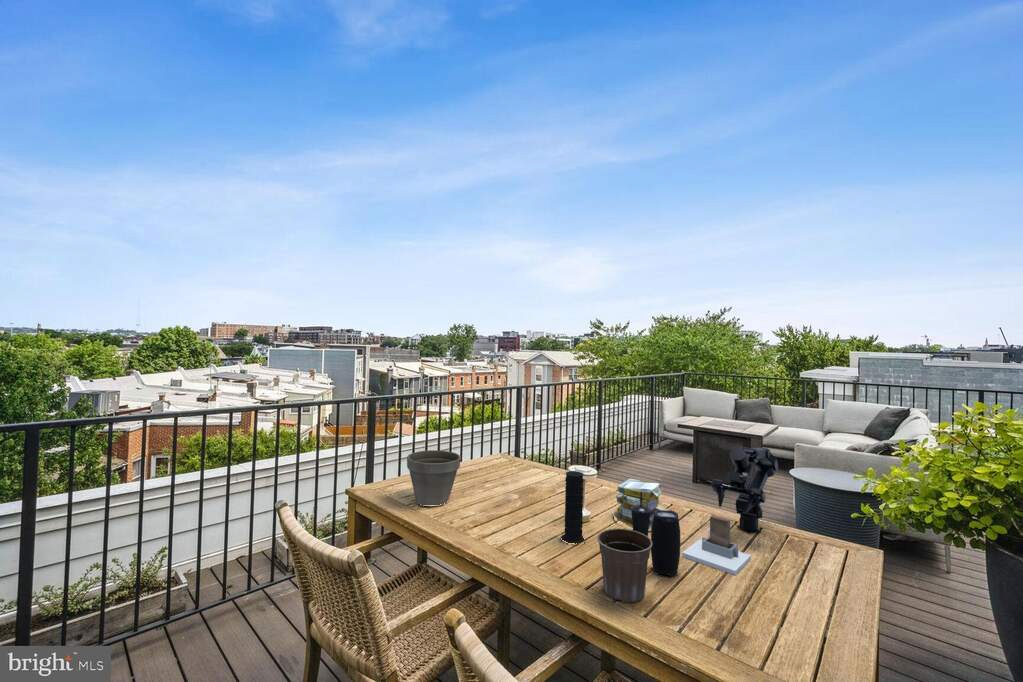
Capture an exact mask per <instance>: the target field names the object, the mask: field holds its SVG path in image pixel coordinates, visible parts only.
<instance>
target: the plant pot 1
mask: <svg viewBox="0 0 1023 682" xmlns="http://www.w3.org/2000/svg"><path fill="white" fill-rule="evenodd" d="M461 459H462V457H461V455H460V454H459V453H456V452H452V451H449V450H437V449H435V450H433V449H432V450H419V451H416V452H415V451H414V452H412V453H410V454H408V455H407V457H406V467H407V469H408V471H409V475H410V480H411V485H412V488H413V494H414V497H415V502H416V501H417V502H416V504H417V503H419V504H421V505H440V504H444V503H446V502H447V501H448V502H449V501H450V497H451V493H452V490H453V487H454V484H455V480H456V476H457V472H458V470H459V469H460V467H461ZM448 502H447V503H448ZM447 503H446V504H447Z"/></svg>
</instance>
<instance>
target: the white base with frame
mask: <svg viewBox="0 0 1023 682" xmlns="http://www.w3.org/2000/svg"><path fill="white" fill-rule="evenodd" d="M738 546H739V545H738V544H737V543H734V542H731V541H730V549H728V548H725V547H722V546H719V545H715V544H712V543H710V535H708V536H707V537H701V539H698V540H696V542H694V543H693V544H692V545H690V546H689V547H688V548H686V549H684V551H682V552H681V557H682V558H685V559H688V560H690V561H693V562H697V563H699V564H702V565H704V566H708V567H710V568H713V569H716V570H719V571H722V572H725V573H728V574H731V575H733V576H736V575H738V574H739V573H740V571H742V570H743V569H744V567H746V565H748V563H749V562H751V560H752V555H751V554H748V553H746V552H742V551H739V547H738Z"/></svg>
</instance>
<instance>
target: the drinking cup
mask: <svg viewBox="0 0 1023 682" xmlns="http://www.w3.org/2000/svg"><path fill="white" fill-rule="evenodd" d="M651 511H652V510H651V508H649V507H647V506H645V505H642V492H640V504H638V505H633V506H631V513H632V527H633V531H637V532H640V533H642V534H644V535H646V536H647V537H649V532H650V531H649V522H650V513H651Z"/></svg>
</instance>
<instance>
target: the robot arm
mask: <svg viewBox="0 0 1023 682" xmlns="http://www.w3.org/2000/svg"><path fill="white" fill-rule="evenodd" d="M729 456H730V459H731V461H732V464H733V465H734V467H735V470H734V471H728V473H727V478H726V480H727V481H728V483H729V484H728V485H727V484H725V483H724V480H720V479H716V478H713V479H712V480H711V482H710V485H711V487H712V490H713V491H714V492H716V494H717V499H718V507H719V508H721V507H722V506H723V501H724V498H725V492H726V491H729V492H734V493H737V494H739V495H738V497H737V498H736V499H735V509H736V510H735V511H736V514H739V525H737V528H738V529H740V530H741V531H744V532H746V533H747V534H752V533H761V532H762V529H759V519H763V508H762V506H761V504H762V503H763V504H765V502H766V494H765V491H764V487H765V485H766V483H767V480H768V479H769V478H771V477H773V476H774V475H776V472H778V470H779V464H778V463H779V462H778V460H777V458H776V457H777V456H776V457H775V455H774V454H772V453H771V450H770V449H769V448H767V447H761V446H758V447H757V446H756V447H755V448H754V447H753V448H751V447H745V446H739V445H738V446H737V447H736V448H733V449H732V450H730V452H729ZM752 464H754V466H755V469H756V472H755V474H754V477H753V478H752V480H751V481H750V478H751V476H752V473H753V465H752ZM750 482H751V483H750Z"/></svg>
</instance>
